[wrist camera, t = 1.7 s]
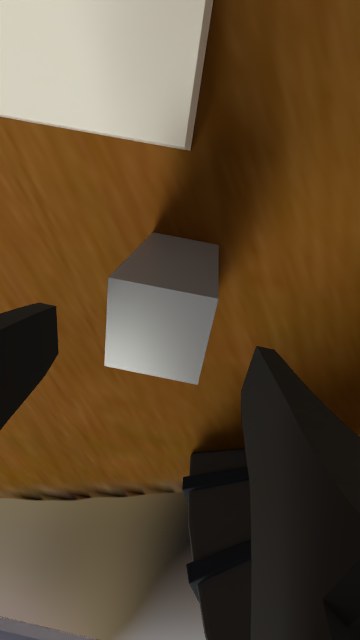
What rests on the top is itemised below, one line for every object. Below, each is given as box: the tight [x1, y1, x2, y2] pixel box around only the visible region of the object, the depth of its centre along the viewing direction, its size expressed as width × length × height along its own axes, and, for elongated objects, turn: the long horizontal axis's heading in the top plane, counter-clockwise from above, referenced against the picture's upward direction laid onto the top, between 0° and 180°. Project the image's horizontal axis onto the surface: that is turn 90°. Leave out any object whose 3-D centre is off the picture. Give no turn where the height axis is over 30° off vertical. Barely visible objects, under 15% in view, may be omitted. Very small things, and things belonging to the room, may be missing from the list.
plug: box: [105, 232, 219, 385], centre depth 15 cm, size 4×4×8 cm
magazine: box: [182, 449, 252, 640], centre depth 21 cm, size 4×13×15 cm, turn 106°
